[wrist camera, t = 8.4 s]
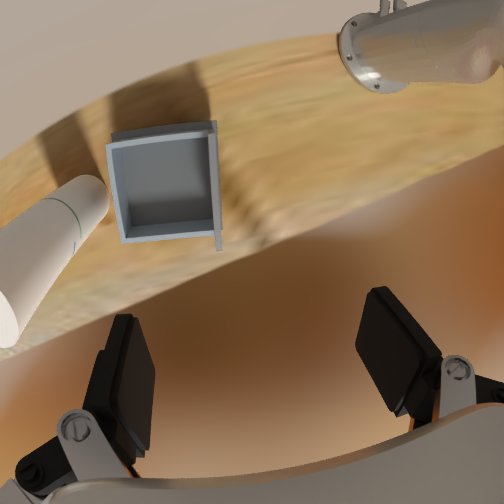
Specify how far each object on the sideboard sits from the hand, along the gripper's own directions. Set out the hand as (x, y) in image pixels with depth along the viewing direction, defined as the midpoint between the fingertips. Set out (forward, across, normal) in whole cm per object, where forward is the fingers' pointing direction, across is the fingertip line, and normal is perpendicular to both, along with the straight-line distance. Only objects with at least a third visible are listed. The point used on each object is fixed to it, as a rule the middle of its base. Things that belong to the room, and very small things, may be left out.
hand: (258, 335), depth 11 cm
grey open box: (+30, +6, 0) cm, 31 cm away
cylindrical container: (+30, +19, +2) cm, 36 cm away
